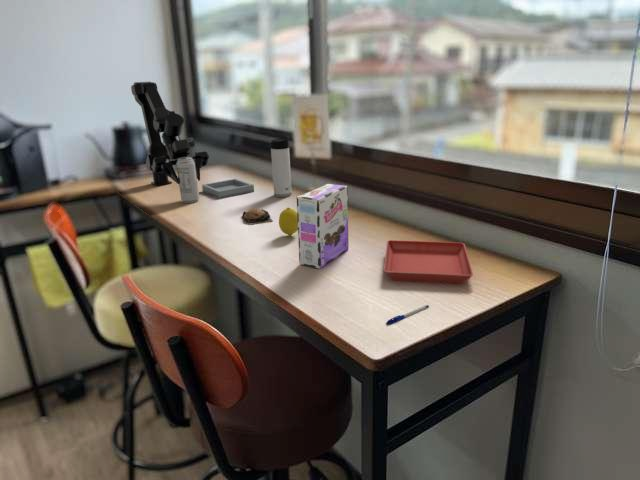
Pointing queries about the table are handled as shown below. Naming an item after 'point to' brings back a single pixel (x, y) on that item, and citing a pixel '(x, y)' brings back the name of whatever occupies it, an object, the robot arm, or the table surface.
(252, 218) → the abalone
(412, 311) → the ballpoint pen
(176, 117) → the robot arm
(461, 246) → the plant saucer
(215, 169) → the table surface
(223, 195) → the tray
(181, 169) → the energy drink can
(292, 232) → the lemon
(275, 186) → the travel mug
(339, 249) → the candy box
